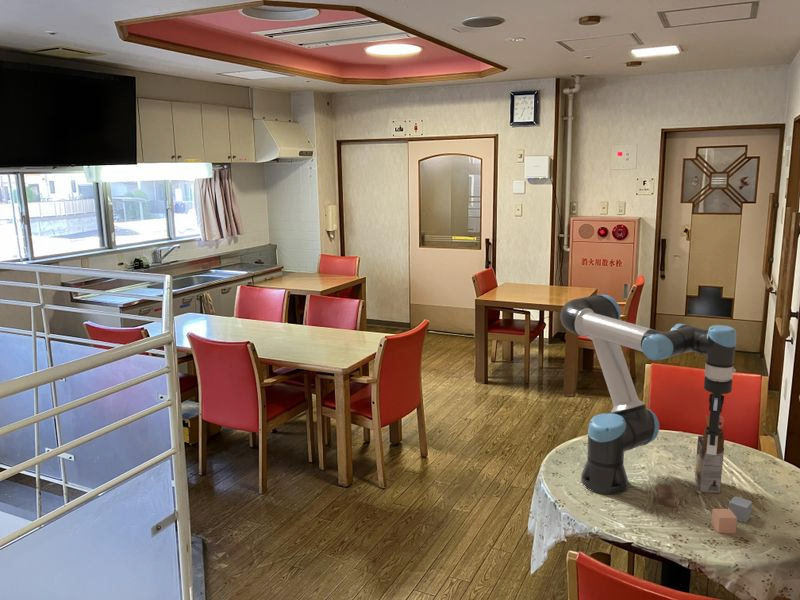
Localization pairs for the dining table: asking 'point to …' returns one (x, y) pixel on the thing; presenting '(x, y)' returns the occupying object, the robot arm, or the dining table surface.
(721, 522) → the terracotta block
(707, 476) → the coffee box
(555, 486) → the dining table surface
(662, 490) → the walnut block
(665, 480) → the dining table surface
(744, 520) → the slate block
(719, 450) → the utensil holder
